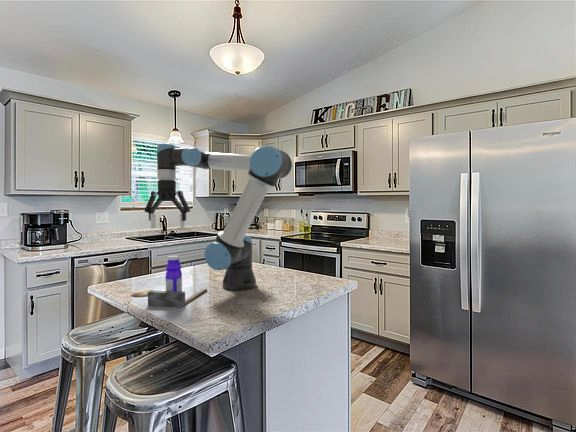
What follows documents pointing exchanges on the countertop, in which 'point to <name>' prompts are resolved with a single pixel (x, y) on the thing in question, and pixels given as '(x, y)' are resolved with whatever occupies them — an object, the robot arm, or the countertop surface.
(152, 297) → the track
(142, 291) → the cork trivet
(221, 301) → the countertop surface
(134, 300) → the countertop surface
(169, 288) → the bottle
